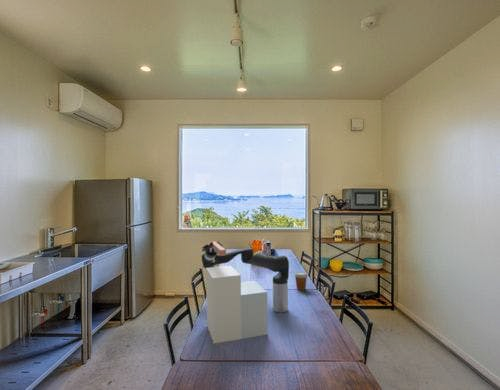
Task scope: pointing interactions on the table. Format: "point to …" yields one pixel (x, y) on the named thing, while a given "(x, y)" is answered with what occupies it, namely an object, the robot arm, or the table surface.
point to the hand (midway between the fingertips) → (215, 243)
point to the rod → (219, 249)
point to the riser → (234, 306)
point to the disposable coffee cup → (301, 280)
